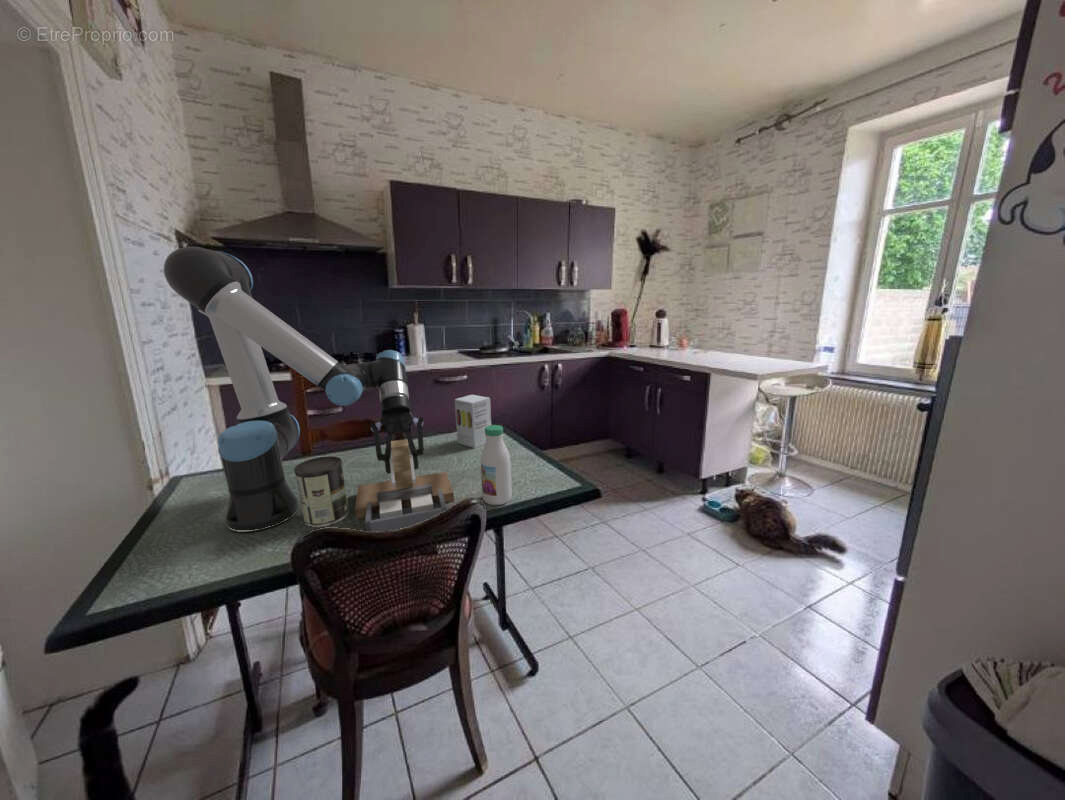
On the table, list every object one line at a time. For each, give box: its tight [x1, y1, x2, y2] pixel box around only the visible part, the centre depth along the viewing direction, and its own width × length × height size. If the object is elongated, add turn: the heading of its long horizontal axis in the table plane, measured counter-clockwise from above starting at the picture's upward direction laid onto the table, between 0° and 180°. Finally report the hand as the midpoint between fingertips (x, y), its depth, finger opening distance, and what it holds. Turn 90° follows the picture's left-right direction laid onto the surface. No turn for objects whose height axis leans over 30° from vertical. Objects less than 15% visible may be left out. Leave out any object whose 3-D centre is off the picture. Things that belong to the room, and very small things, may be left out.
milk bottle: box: [480, 424, 513, 506], centre depth 106 cm, size 8×8×20 cm
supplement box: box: [454, 394, 492, 449], centre depth 149 cm, size 10×9×17 cm
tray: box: [364, 489, 448, 531], centre depth 99 cm, size 18×11×4 cm, turn 109°
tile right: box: [411, 494, 434, 513], centre depth 102 cm, size 5×5×3 cm
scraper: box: [377, 438, 432, 505], centre depth 103 cm, size 13×6×14 cm, turn 109°
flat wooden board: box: [354, 471, 455, 520], centre depth 111 cm, size 24×14×2 cm, turn 109°
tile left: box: [380, 499, 403, 519], centre depth 99 cm, size 5×5×3 cm
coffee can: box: [293, 456, 350, 528], centre depth 101 cm, size 10×10×14 cm
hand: (404, 482), depth 100 cm, fingers closed on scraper, 4 cm apart
